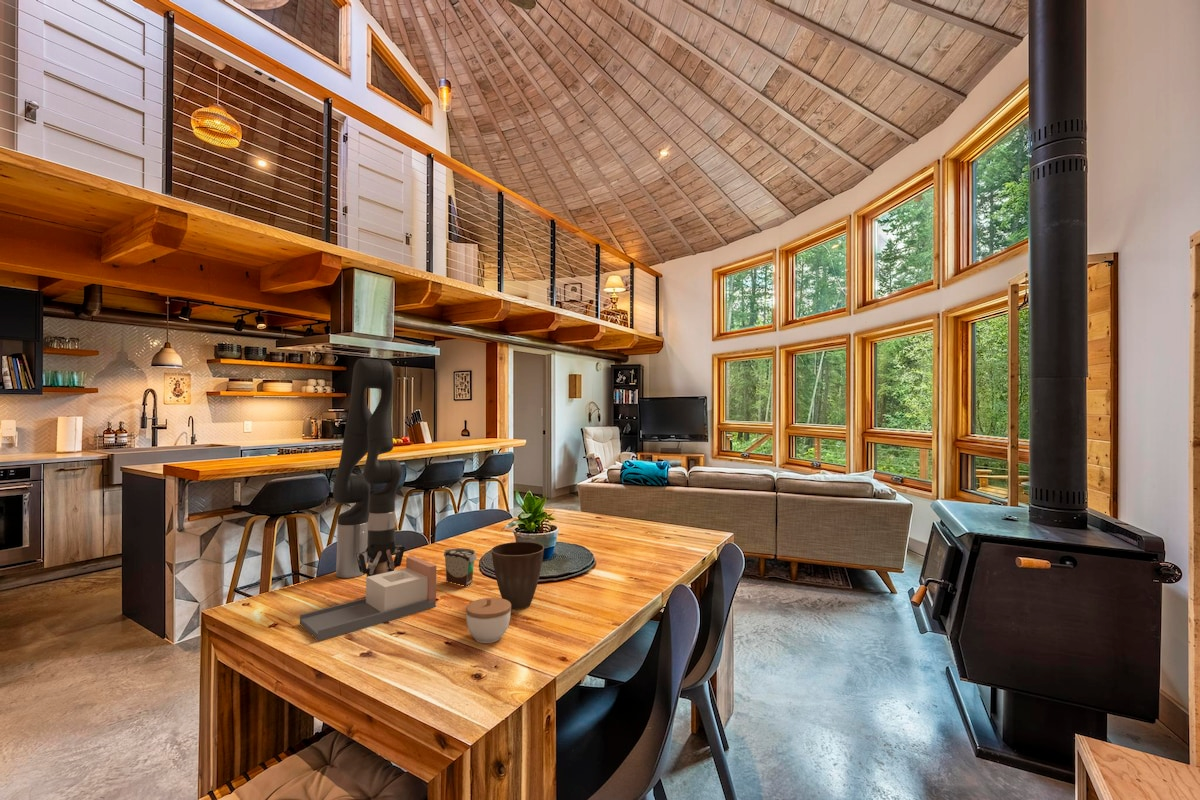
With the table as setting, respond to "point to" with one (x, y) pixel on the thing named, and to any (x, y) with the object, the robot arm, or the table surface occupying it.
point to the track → (367, 609)
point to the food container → (459, 565)
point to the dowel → (381, 567)
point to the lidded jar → (488, 619)
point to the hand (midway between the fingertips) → (380, 583)
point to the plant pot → (517, 571)
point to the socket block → (396, 589)
